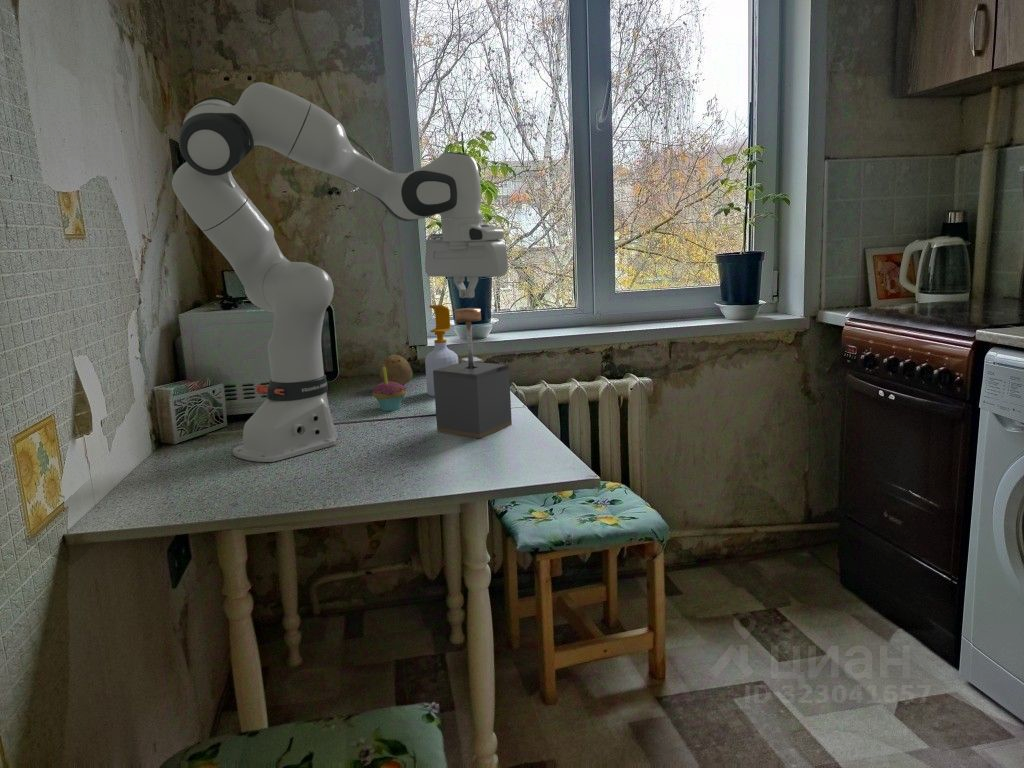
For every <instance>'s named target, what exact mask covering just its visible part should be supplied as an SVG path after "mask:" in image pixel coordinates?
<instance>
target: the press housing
mask: <svg viewBox="0 0 1024 768" xmlns="http://www.w3.org/2000/svg"><path fill="white" fill-rule="evenodd" d="M433 378H434V392H435V397H434V400H435V401H434V403H435V404H434V405H435V416H436V431H437V433H443V434H448V435H454V436H460V437H467V438H473V439H483V438H485V437H487V436H490V435H491V434H495V433H497V432H499V431H501V430H503V429H505V428H507V427H510V426H512V425H513V423H512V419H513V418H512V404H511V403H512V402H511V399H512V398H511V384H510V383H511V381H510V364H508V363H496V362H484V361H483V362H474V369H469V367H468V361H464V362H461V361H460V362H458V364H454V365H451V366H447V367H444V368H440V369H437V370H434V371H433Z"/></svg>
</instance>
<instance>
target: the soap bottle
mask: <svg viewBox="0 0 1024 768" xmlns="http://www.w3.org/2000/svg"><path fill="white" fill-rule="evenodd" d="M429 308H431V309H433V310H434V316H435V328H433V329H431V330H430V332H429V333H434V335H435V336H436V339H435V340H434V341H433V343H434V348H433V350H431V351H430V352H429V353H427V355H426V357H425V360H424V363H425V364H424V365H425V378H426V379H425V380H426V392H427V395H428V396H431V397H433V398H435V392H434V378H433V371H434V370H437V369H440V368H444V367H447V366H451V365H454V364H458V363H459V356H458V354H457V353H455V351H454V350H451V349H450V348H448V344H447V339H445V338H444V335H446V332H447V331H450V329H451V316H450V315H451V314H450V309H449V308H448V307H447V306H445V305H441V304H440V305H439V304H433V305H432V304H430V305H429Z"/></svg>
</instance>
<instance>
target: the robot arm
mask: <svg viewBox="0 0 1024 768" xmlns="http://www.w3.org/2000/svg"><path fill="white" fill-rule="evenodd" d="M178 145H179V146H178V147H179V150H180V153H181V155H182V157H183V159H184V161H185V162H184V163H182V164H181V165H180V166H179V167H178V168H177V169H176V171H175V172H174V174H173V177H172V179H171V186H172V190H173V193H175V195H176V197H177V199H178V200H179V202H180V203H181V205H182V206H183V208H184V209H185V211H186V213H187V214H188V215H189V217H190V218H191V219H192V220H193V222H194V223H195V224H196V226H197V227H198V228H199V229H200V230H201V231H202V232H203V234H204V235H205V236H206V237H207V239H209V241H210V242H211V243H212V244H213V246H215V248H216V249H217V250H218V251H219V252H220V253H221V254H222V255H223V257H224V259H226V260H227V262H228V263H229V265H230V266H231V267H232V269H233V270H234V272H235V274H236V276H237V277H238V279H239V281H240V282H241V284H242V286H243V287H244V288H243V289H244V293H245V295H246V298H247V299H248V301H250V302H251V303H252V304H253V305H255V306H256V307H258V308H259V309H260V310H263V311H265V312H267V313H273V315H274V316H273V317H274V319H273V326H272V327H273V328H272V334H271V337H270V339H268V343H267V355H268V363H269V370H270V377H271V379H270V380H269V383H268V386H267V385H266V384H256V387H255V393H257V395H259V394H260V395H265V398H266V399H265V400H264V401H263V403H262V404H261V405H260V406H259V408H257V410H256V411H254V413H253V414H252V416H250V417H249V419H247V421H246V422H245V423H244V426H243V432H242V433H243V434H242V444H240V445H237V446H236V447H234V448H233V449H232V455H233V456H235V457H236V458H239V459H241V460H246V461H249V462H250V461H251V462H257V463H267V462H268V463H271V462H272V463H273V462H278V461H283V460H285V459H289V458H292V457H297V456H299V455H304V454H307V453H310V452H311V453H312V452H314V451H317V450H322V449H326V448H329V447H332V446H335V445H337V439H338V438H339V434H338V432H337V431H338V430H337V429H336V427H335V423H334V421H333V417H332V413H331V409H330V406H329V400H328V399H329V398H328V391H329V386H328V380H327V375H326V374H325V371H324V369H325V368H324V362H323V361H324V360H323V352H322V351H323V350H322V333H323V325H324V319H325V314H326V310H327V308H328V307H329V306H330V304H331V303H332V300H333V297H334V291H335V289H334V284H333V281H332V278H331V276H330V275H329V273H328V272H326V271H325V270H324V269H322V268H320V267H318V266H316V265H314V264H312V263H309V262H306V261H305V262H304V261H303V262H302V261H290V260H289V259H287V257H286V256H284V253H282V251H281V249H280V247H279V245H278V243H277V241H276V239H275V231H274V228H273V226H272V225H271V224H270V223H269V221H268V220H267V219H266V218H265V216H264V215H263V214H262V213H261V211H260V210H259V209H258V207H256V205H255V204H254V202H253V201H252V200H251V199H250V198H249V196H248V195H247V194H246V193H245V191H244V190H243V189H242V188H241V187H240V185H239V184H238V183H237V182H236V180H235V178H234V176H233V174H232V171H233V170H234V169H236V168H237V167H238V166H239V165H240V164H241V163H242V162H243V160H244V159H245V158H247V156H248V155H249V154H250V153H251V152H252V151H253V150H254V147H256V146H261V147H262V146H263V147H266V148H269V149H271V150H273V151H275V152H277V153H279V154H281V155H282V156H284V157H286V158H289V159H290V160H293V161H294V162H297V163H299V164H301V165H303V166H307V167H309V168H311V169H315V170H318V171H321V172H323V173H326V174H329V175H333V176H335V177H338V178H340V179H342V180H344V181H346V182H348V183H350V184H352V186H355V187H357V188H359V189H360V190H362V191H364V192H366V193H367V194H369V195H371V196H372V197H374V198H375V199H377V200H378V201H379V202H380V204H382V206H384V208H385V209H386V210H387V211H388V212H389V213H390V214H391V215H392V217H394V218H396V219H397V220H399V221H402V222H414V221H417V220H422V219H428V218H431V217H433V216H435V215H439V216H440V220H441V221H440V222H441V225H440V226H441V233H432V234H430V235H429V236H428V237H427V239H426V240H425V257H424V270H425V271H424V272H425V274H426V275H427V276H428V277H431V278H432V277H434V278H435V277H436V278H437V277H438V278H440V277H442V278H443V277H445V278H447V277H448V278H449V277H450V278H453V283H454V285H455V287H456V289H457V290H458V296H459V298H461V299H472V298H473V299H474V298H475V295H476V294H475V293H476V292H475V290H476V287H477V284H478V282H479V277H480V278H481V277H482V278H484V277H491V278H492V277H493V278H494V277H495V278H497V277H504V276H505V275H506V274H507V273H508V270H509V263H508V253H507V252H508V251H507V248H506V244H505V243H504V242H503V239H504V238H505V234H504V233H505V232H504V229H502V228H501V227H497V226H494V225H491V224H489V223H486V222H484V218H483V217H484V216H483V212H482V209H481V200H482V187H481V177H480V172H479V167H478V163H477V160H476V159H475V158H474V157H473V156H471V155H469V154H466V153H462V152H459V151H458V152H457V151H454V152H453V151H446V152H445V151H444V152H443V153H441V154H440V155H439V156H438V157H437V158H435V159H433V160H432V161H431V162H428V163H427V164H426V165H424V166H421V167H419V168H416V169H414V170H412V171H409V172H406V173H405V172H404V173H403V172H402V173H400V172H396V171H395V172H394V171H391V170H389V169H387V168H385V167H384V166H383V165H381V164H379V163H377V162H375V161H374V160H372V159H370V158H368V157H367V156H365V155H363V154H362V153H360V152H359V151H358V150H357V149H355V147H354V146H353V145H352V143H351V141H350V140H349V138H348V136H347V133H346V130H345V127H344V126H343V124H342V123H341V122H340V121H339V120H338V119H336V118H335V117H334V116H333V115H331V114H330V113H329V112H327V111H326V110H325V109H323V108H321V107H320V106H318V105H317V104H315V103H313V102H311V101H309V100H307V99H305V98H303V97H302V96H299V95H297V94H295V93H293V92H290V91H289V90H286V89H284V88H281V87H278V86H275V85H273V84H270V83H267V82H262V81H261V82H260V81H258V82H253V83H252V84H251V85H249V86H248V87H246V89H245V90H244V91H243V92H242V93H241V95H240V97H239V100H238V101H237V102H236V104H235V102H233V101H231V100H229V99H226V98H224V97H220V96H211V97H209V96H208V97H206V98H203V99H200V100H199V101H198V102H196V104H194V105H193V107H192V108H191V109H189V111H188V112H187V114H186V115H185V117H184V119H183V123H182V125H181V127H180V130H179V133H178ZM465 278H466V280H465ZM465 281H466V282H468V286H467V288H466V285H465V284H464V282H465Z"/></svg>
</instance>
